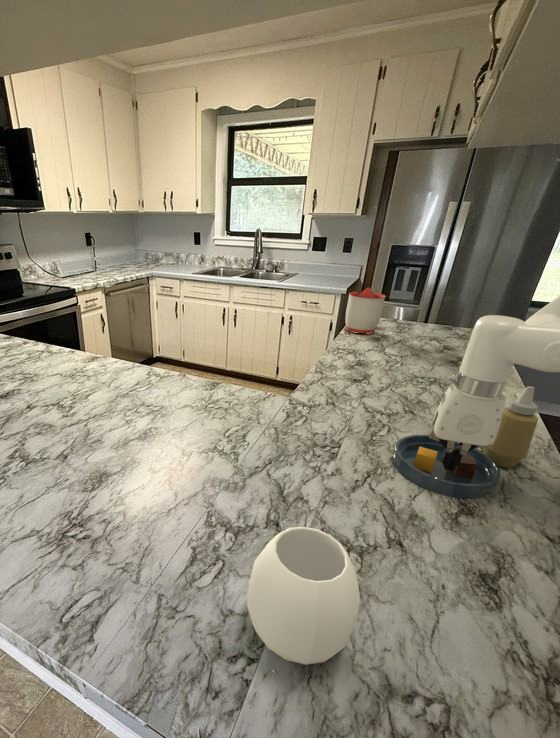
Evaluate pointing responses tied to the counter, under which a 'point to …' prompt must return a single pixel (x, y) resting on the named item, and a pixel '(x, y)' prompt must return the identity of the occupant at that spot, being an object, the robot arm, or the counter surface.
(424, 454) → the mustard block
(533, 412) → the squeeze bottle
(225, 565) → the counter surface
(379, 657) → the counter surface
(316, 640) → the cup
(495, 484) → the plate
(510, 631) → the counter surface
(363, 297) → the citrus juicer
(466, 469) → the walnut block
